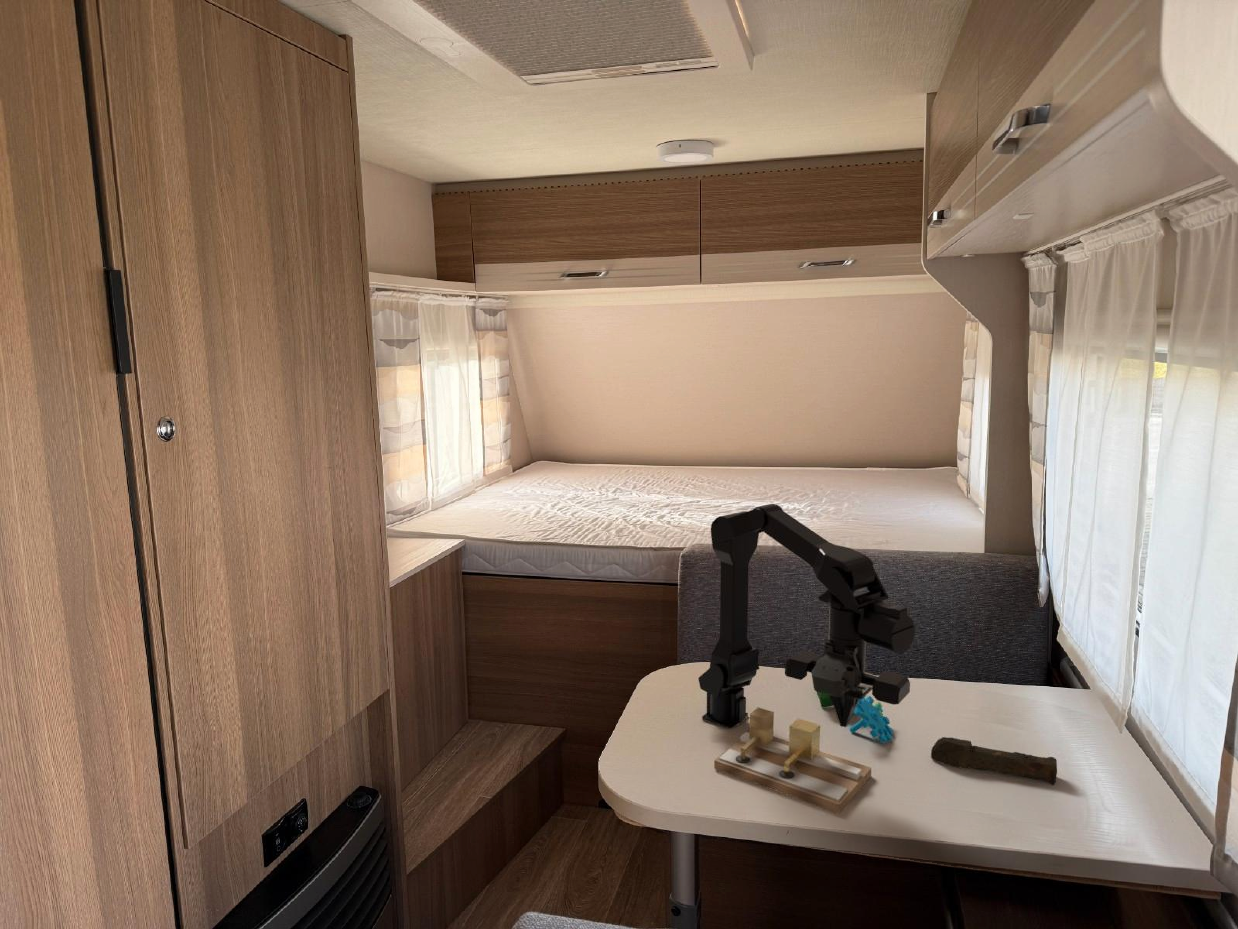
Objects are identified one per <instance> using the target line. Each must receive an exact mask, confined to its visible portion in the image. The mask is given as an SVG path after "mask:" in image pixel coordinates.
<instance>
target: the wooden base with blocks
mask: <svg viewBox="0 0 1238 929" xmlns="http://www.w3.org/2000/svg"><path fill="white" fill-rule="evenodd" d="M774 715H775V711H772V710H769V709H765V708H762V707H756V708H755V709H754V710H753V711H751V712H750V713H749V731H748V732H747V731H745V732H744V733H742V735H740V739H738V740H737V741H736V742H735V743H733V744H732V745H731V746H730V747H729V748H727V749H726V750H725V751H724V752H722V753H721V754H720V755H718V757H716V758H715V759H714V762H713V763H714V765H713V767H714V770H717V771H721V772H723V773H726V774H729V775H731V774H732V775H731V776H733V777H737V778H739V777H740V778H739V779H743V780H745V781H748V782H750V781H751V783H753V782H754V784H756V785H759V786H762V787H764V788H767V787H768V788H767V789H770V788H771V789H770V790H772V789H773V790H772V791H775V790H777V791H776V792H778V791H779V792H778V793H781V792H782V793H781V794H785V795H786V794H788V795H787V796H789V795H790V797H792V798H795V797H796V798H795V799H797V798H798V800H800V799H801V800H800V801H803V802H806V803H809V804H811V803H812V804H811V805H814V804H815V806H816V807H817V806H818V807H821V808H823V809H826V810H828V811H831V812H834V813H837V814H840V813H841V812H842V811H843V810H844V809H845V808H846V806H847V805H848V804H849V803H850V802H851V801H852V799H853V798H854V797H855V796H856V795H857V793H858V792H859V791H860V790H861V789H862V787H863V786H864V785H865V784H866V783H867V782H868V781H869V779H870V778H871V777H872V767H870V766H868V765H865V764H860V763H858V762H854V761H851V760H849V759H845V758H842V757H839V756H836V755H832V754H830V753H827V752H823V751H820V750H819V754H818V755H817V756H816V757H815V758H814V759H813V760H812V761H810V760H807V759H804V758H801V757H800V758H799V759H798V760H797V761H796V762H795V763H794V764H793V765H792V766H791V767H790V768H789V775H785V774H784V763H785V762H786V761H787V760H788V759H789V758H790V757H791V756H792V755H791V754H789V740H786V739H783V738H780V737H776V736H774V727H775V726H774V724H775V723H774V719H775V716H774Z"/></svg>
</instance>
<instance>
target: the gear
mask: <svg viewBox="0 0 1238 929" xmlns="http://www.w3.org/2000/svg"><path fill="white" fill-rule="evenodd" d="M866 696H867V697H866ZM866 696H865V697H864V698H863V699H860V700H859V702H858V704H857V706H856V708H855V710H854V713H853V714H854V715H855V716H856V717H859V718H860V720H859V721H858V722H856V723H855V724H853V725H852V726H851V727H849V731H850V732H851V734H854V733H855V732H857V731H858V730H860V729H861V728H863V729H867V727H869V728H870V729H871V730H870V731H869V734H870V736H871V737H872V738H874V739H876V738H877V737H878V740H879V741H880V742H881V743H882V744H884V743H886V742H887V743H889V742H890V741H892V740H893V738H894V737H893V736H892V734H893V733H894V730H893V728H892V727H890V726H889V725H890V724H891V721H890V720H889V718H888V716H884V713H883V712H884V710H883V704H882V702H881V701H878V702H876V703H875V700H874V699H873V697H872V696H870V695H866ZM873 703H875V704H873Z"/></svg>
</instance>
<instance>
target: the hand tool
mask: <svg viewBox="0 0 1238 929" xmlns="http://www.w3.org/2000/svg"><path fill="white" fill-rule="evenodd" d="M930 759H931V760H933V761H935V762H938V763H941V764H944V765H946V766H951V767H955V768H960V769H964V770H967V769H969V768H976V769H982V770H987V771H992V772H1001V773H1005V774H1011V775H1015V776H1021V777H1025V778H1031V779H1035V780H1044V781H1048V782H1050V784H1051V785H1053V786H1054V785H1055V783H1056V781H1057V775H1058V764H1057V762H1058V760H1057V758H1056V757H1053V756H1048V757H1044V756H1036V755H1032V754H1026V753H1022V752H1017V751H1014V752H1010V751H1004V750H1001V749H1000V750H998V749H992V748H987V747H983V746H978V745H973V744H972V742H971V740H967V739H959V738H955V737H946V736H943V737H941V738H938V739H937V740H936V742H935V743H934V744H933V746H932V748H931V752H930Z"/></svg>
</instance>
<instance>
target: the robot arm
mask: <svg viewBox="0 0 1238 929" xmlns="http://www.w3.org/2000/svg"><path fill="white" fill-rule="evenodd" d="M761 533H764V534H766V535H767V536H769V537H770V538H771V539H773V540H774V541H776V542H777V543H778V544H780V545H782V547H784V548H785V549H786V550H788V551H789V552H791V553H792V554H794V556H797V558H799V559H800V560H802V561H803V562H804V563H806V564H808V566H810V568H812V569H813V572H814V574H815V577H816V579H817V581H818V582H819V583H820V584H822V586H824V587H825V589H827V590H825V592H823V593H822V594H821V595H818V597H817V599H818V601H820V602H822V603H825V604H827V605H829V607H828V608H829V610H828V611H829V612H828V613H829V614H828V615H829V616H828V637H827V638H828V640H826V641H825V642H824V646H823V648H824V649H823V653H822V654H819V653H815V652H811V651H808V650H807V651H806V650H803V649H800V650H799V651H797V652H796V653H795V654H794V655H791V657H789V658H788V659H787V660H786V661H785V665H784V675H785V676H786V677H789V678H792V679H796V680H799V681H802V680H803V679H805V678H806V677H807V676H808V673H810V674H811V679H812V685H813V690H814V691H815V692H816V691H817V692H820V693H821V692H823V693H827V694H828V695H829V697H830V699H831V701H832V703H833V706H832V707H833V708H834V711H835V714H836V717H837V719H838V722H839V724H840V727H843V728H846V727H847V726H849V724H850V721H851V718H852V717H853V715H854V714H855V713H854V710H855V708H856V706H857V704H858V702H859V700H860V699H863V698H864V697H865V696H868V694H869V693H870V692H871V695H872V696H873V697H874V698H875V700H876V701H878V702H881V703H886V704H889V705H900V704H901V702H902V701H903V700H904V699H905V698H906V697H907V696H908V694H909V693H910V690H911V682H910V679H909V678H908V676H907V675H906V674H901V673H898V672H894V671H889V670H883V671H882V672H881V673H880V674H879V675H878V676H876V675H874V674H873V673H869V672H865V671H866V670H867V669H868V664H869V662H868V661H866V653H867V652H866V646H867V645H868V644H870V645H873V646H876V647H879V648H881V649H884V650H888V651H890V652H893V653H895V654H899V655H900V654H901V655H902V654H904V653H906V652H907V651H909V649H910V648H911V646H912V644H913V642H914V639H915V635H916V626H915V625H914V620H913V618H911V617H910V616H909V615H908V608H907V607H905V606H902V605H894V604H891V603H888V602H885V601H888V600H889V599H890V597H889V595H888V593H887V592H886V589H885V587H884V585H883V583H882V582H881V579H880V578H879V576H878V573H877V572H876V569H875V568H874V562H873V561H872V559H871V558H870V557H869V556H868V555H865V553H862V552H860V551H857V550H854V549H852V548H850V547H847V546H842V545H838V544H835V543H832V542H830V541H828V540H826V539H825V538H824V537H822V536H820V534H818V533H816V532H815V531H814V530H812V529H811V528H809V527H807V526H806V525H805V524H804V523H802V522H800V521H799V520H797V519H795V518H794V517H793V516H791V515H790V514H789V513H787V512H785V511H784V510H783V508H782V507H781V505H778V504H775V503H769V504H764V505H760V506H759V505H758V506H756V507H754V508H753V509H751V510H749V511H744V510H742V511H738V512H733V513H730V514H725V515H720V516H717V517H716V518H715V519H714V520H713V521H712V522H711V525H710V538H711V546H712V550H713V551H714V553H715V555H716V557H717V559H718V560H719V561H720V590H719V592H720V595H719V596H720V598H719V599H720V603H719V604H720V608H719V612H720V613H719V619H720V620H719V638H718V640H717V641H716V644H715V646H714V647H713V649H712V651H711V657H710V663H709V668H708V669H707V670H706V671H705V672H704V673H702V674H701V675H700V676H699V677H698V683H699V688H700V690H702V691H704V692H706V713H704V714H703V715H702V716H701V719H702V720H703V721H706V722H709V723H713V724H715V725H718V726H721V727H725V728H728V729H733V728H735V727H736V726H737V725H739V724H740V723H741V722H742V721H743V720H745V719H746V718H747V717H748V716H749V714H748V712H747V699H746V698H747V697H746V696H745V688H744V687H747V686H751V684H752V680H753V679H754V677H755V676H756V675H757V671H758V670H760V665H759V664H760V663H759V656H760V651H759V649H758V648H756V647H753V645H752V643H751V641H749V639H748V638H749V637H748V622H749V621H748V617H749V616H748V614H749V612H748V610H749V608H748V607H749V566H750V564H749V563H750V562H751V559H752V557H753V555H754V553H755V551H756V550H757V547H758V544H759V543H758V542H759V538H760V537H759V535H760V534H761ZM864 590H868V591H867V592H864V593H861V594H858V595H855V594H854V593H858V592H861V591H864ZM821 655H822V656H821ZM817 692H816V693H817ZM865 698H866V697H865Z"/></svg>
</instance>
